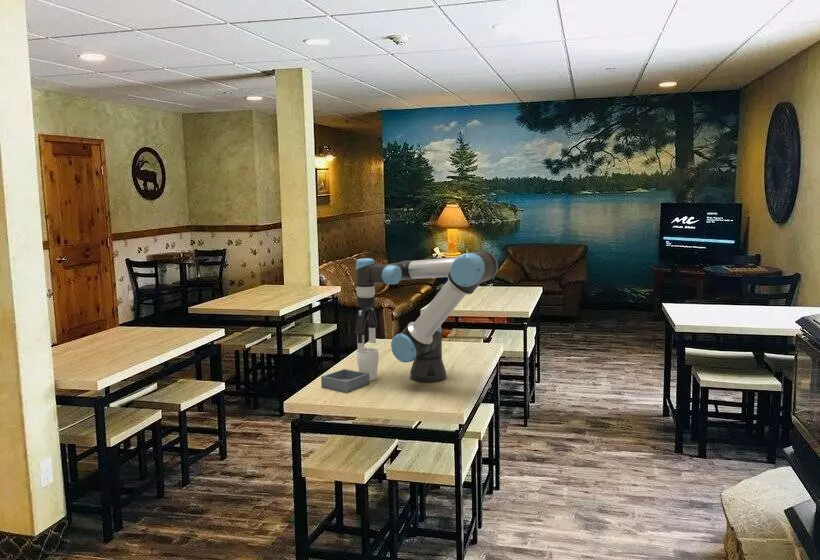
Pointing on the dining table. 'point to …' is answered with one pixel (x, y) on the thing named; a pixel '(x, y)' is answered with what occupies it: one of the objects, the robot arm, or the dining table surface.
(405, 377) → the dining table surface
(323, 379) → the bin
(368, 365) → the cup
